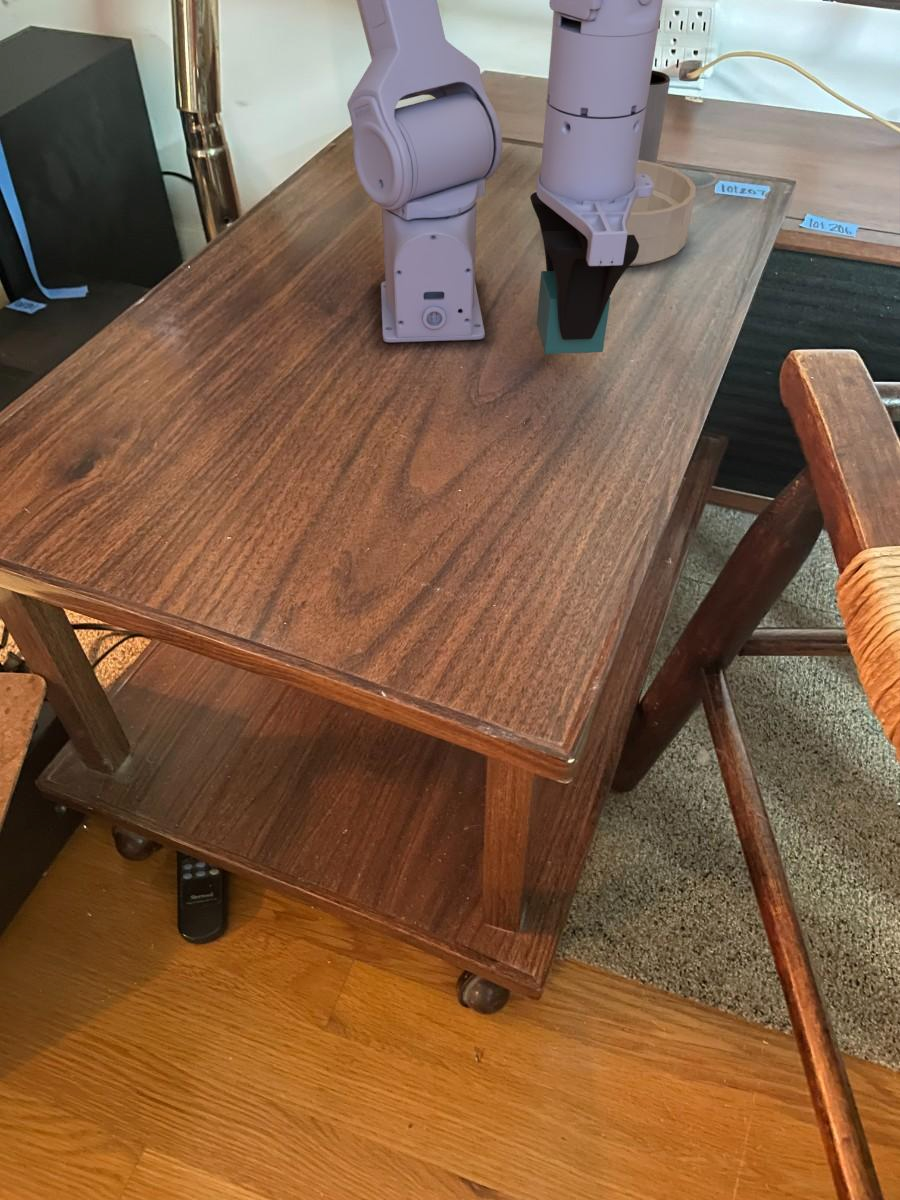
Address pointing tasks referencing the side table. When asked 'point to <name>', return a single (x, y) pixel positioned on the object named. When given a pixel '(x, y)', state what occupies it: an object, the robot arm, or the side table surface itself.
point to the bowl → (661, 213)
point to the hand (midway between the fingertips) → (571, 319)
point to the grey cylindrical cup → (654, 116)
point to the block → (550, 322)
